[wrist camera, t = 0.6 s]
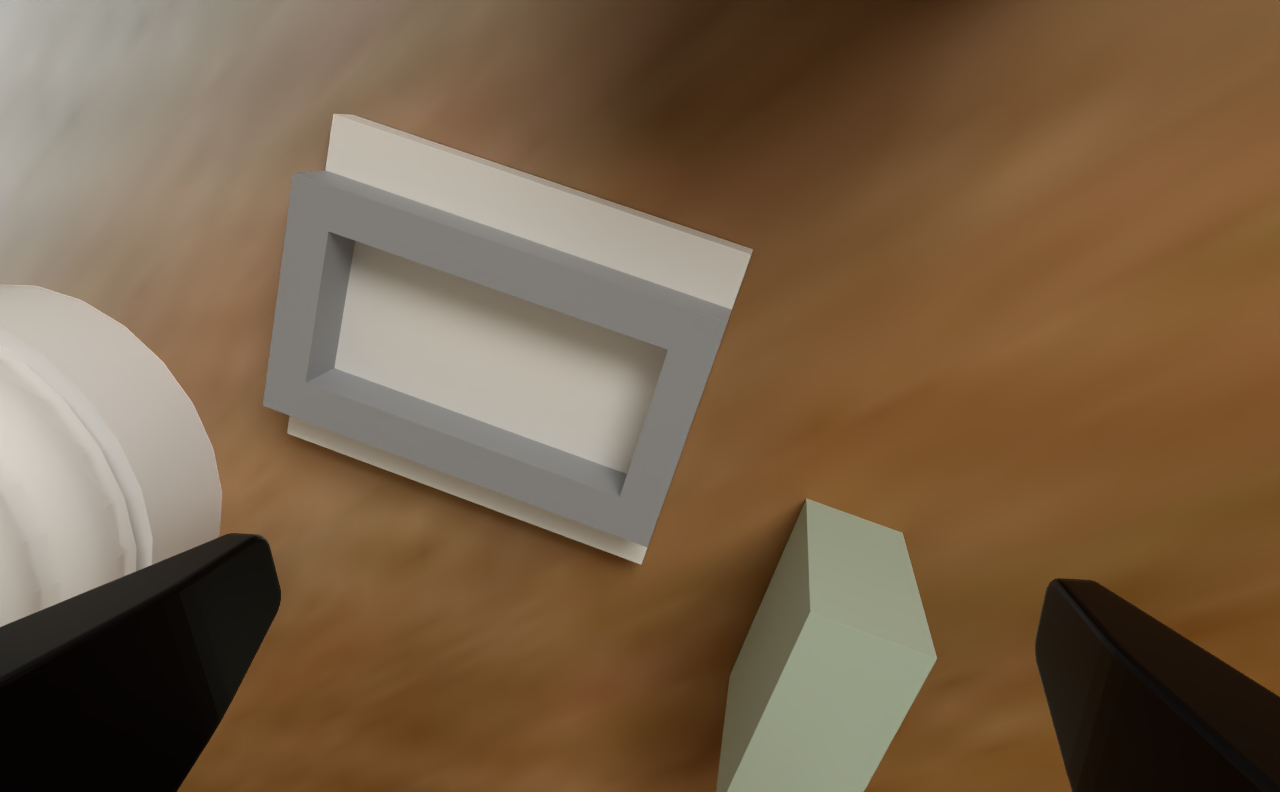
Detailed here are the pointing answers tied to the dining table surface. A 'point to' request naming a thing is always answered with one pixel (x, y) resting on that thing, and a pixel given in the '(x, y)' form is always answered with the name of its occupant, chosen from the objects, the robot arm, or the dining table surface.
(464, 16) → the dining table surface
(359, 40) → the dining table surface
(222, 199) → the dining table surface
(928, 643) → the pale green block
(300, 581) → the dining table surface
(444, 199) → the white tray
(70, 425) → the honey pot
